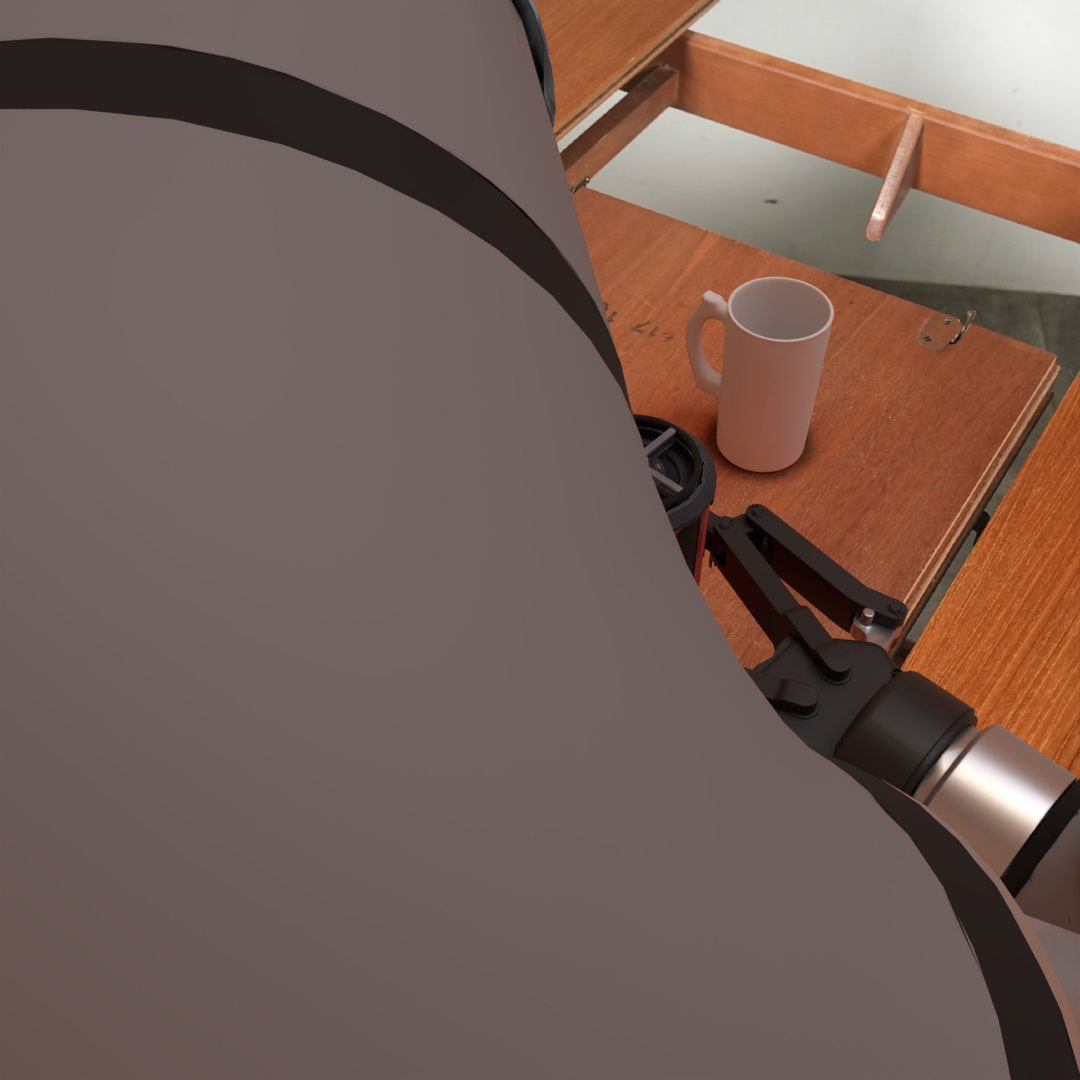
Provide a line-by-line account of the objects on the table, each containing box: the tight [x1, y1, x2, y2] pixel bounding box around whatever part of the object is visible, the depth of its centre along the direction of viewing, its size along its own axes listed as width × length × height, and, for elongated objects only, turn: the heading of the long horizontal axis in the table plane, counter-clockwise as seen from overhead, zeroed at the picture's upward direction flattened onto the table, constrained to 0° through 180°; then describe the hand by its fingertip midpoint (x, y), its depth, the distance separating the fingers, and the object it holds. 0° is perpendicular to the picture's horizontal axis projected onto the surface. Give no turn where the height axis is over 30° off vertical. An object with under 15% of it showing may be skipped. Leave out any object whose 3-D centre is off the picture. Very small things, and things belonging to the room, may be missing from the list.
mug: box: [685, 276, 835, 473], centre depth 82 cm, size 10×7×12 cm, turn 53°
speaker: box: [633, 413, 718, 588], centre depth 62 cm, size 8×8×18 cm
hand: (558, 520), depth 63 cm, fingers closed on speaker, 7 cm apart
